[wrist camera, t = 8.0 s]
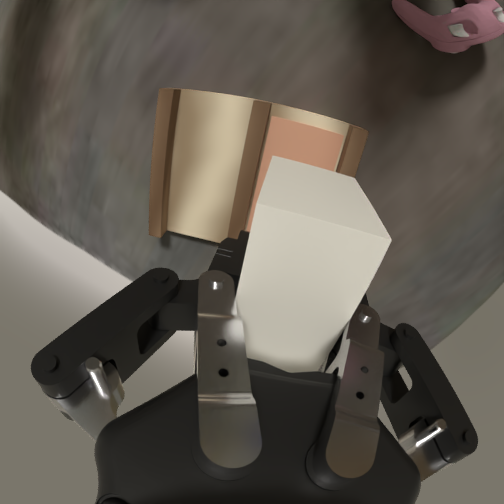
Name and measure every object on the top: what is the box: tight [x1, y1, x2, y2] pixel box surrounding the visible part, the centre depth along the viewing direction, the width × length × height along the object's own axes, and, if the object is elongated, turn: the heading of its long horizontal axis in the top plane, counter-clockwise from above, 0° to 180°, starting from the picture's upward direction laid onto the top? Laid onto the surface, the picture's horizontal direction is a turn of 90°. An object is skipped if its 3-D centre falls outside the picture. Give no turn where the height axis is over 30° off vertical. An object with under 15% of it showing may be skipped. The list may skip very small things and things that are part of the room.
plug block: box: [236, 156, 392, 373], centre depth 12 cm, size 9×4×6 cm, turn 169°
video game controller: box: [392, 0, 504, 53], centre depth 10 cm, size 10×5×7 cm, turn 128°
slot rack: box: [149, 88, 369, 243], centre depth 22 cm, size 16×13×2 cm
